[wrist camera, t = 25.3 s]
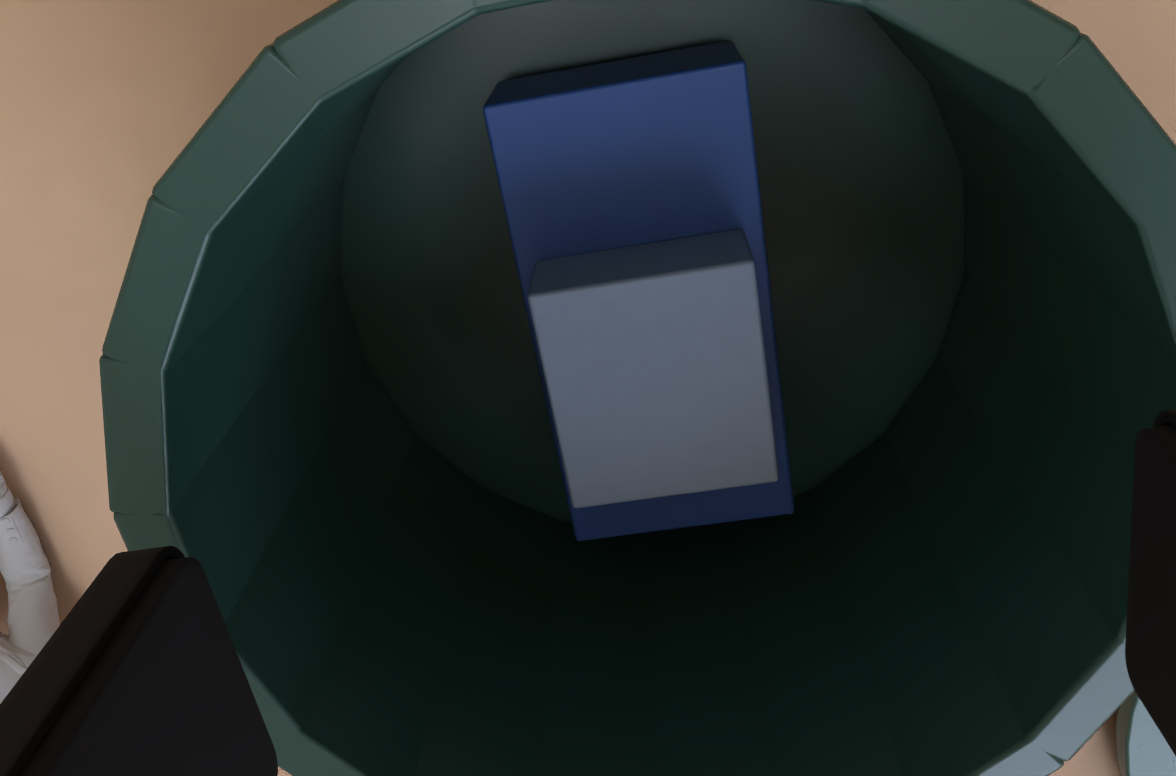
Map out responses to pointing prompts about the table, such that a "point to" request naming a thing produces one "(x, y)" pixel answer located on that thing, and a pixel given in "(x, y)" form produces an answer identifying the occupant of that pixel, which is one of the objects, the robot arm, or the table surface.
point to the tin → (523, 430)
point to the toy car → (647, 287)
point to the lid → (1141, 742)
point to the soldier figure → (23, 591)
